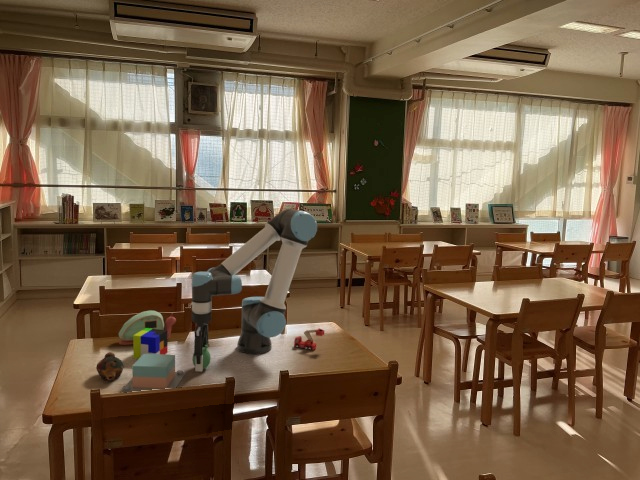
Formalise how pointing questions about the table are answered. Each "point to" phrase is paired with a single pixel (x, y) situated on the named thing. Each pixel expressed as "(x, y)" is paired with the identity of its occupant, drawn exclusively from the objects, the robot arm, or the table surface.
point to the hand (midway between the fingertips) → (201, 366)
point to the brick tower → (154, 373)
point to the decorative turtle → (110, 367)
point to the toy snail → (144, 325)
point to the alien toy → (204, 357)
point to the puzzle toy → (150, 342)
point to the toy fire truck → (309, 342)
